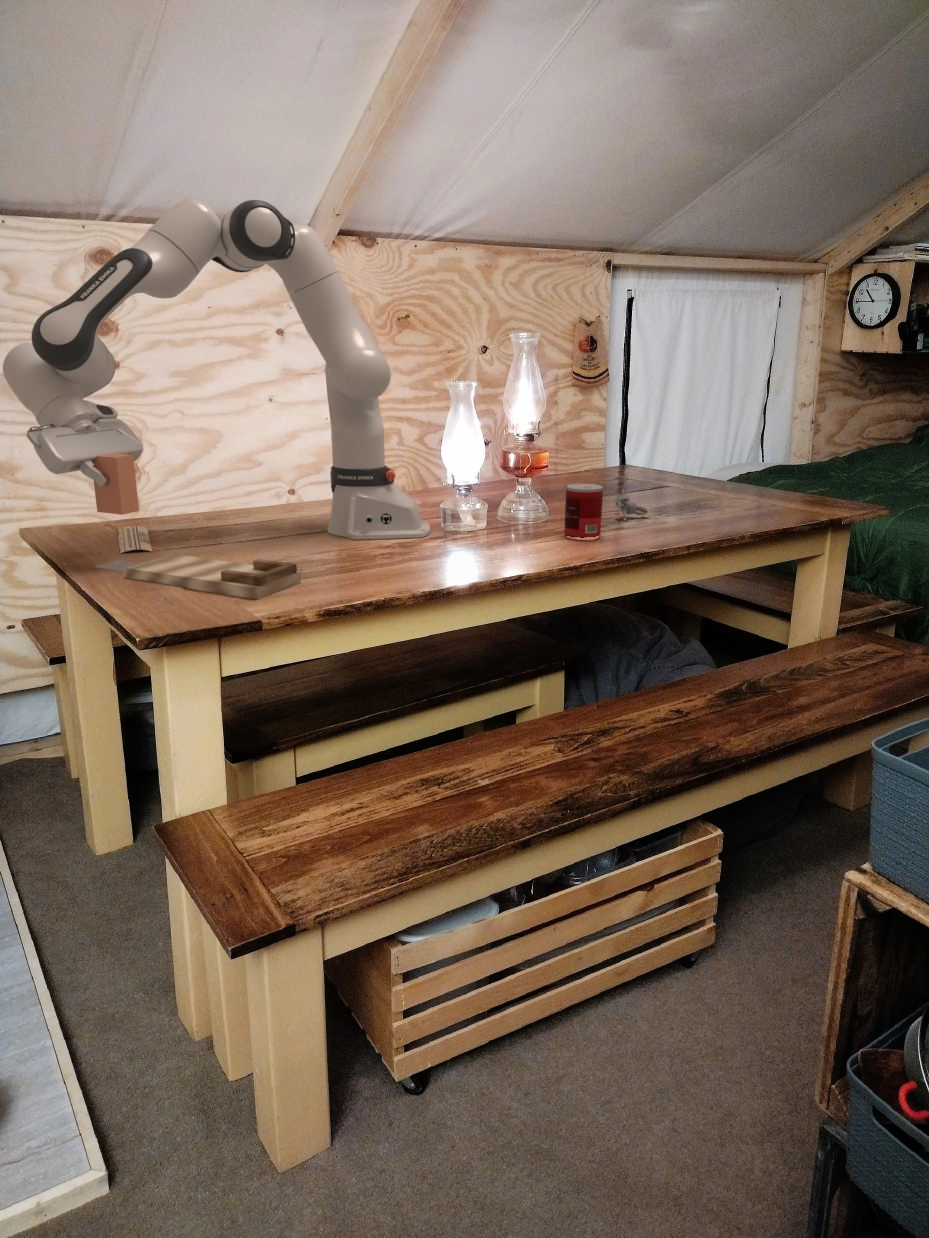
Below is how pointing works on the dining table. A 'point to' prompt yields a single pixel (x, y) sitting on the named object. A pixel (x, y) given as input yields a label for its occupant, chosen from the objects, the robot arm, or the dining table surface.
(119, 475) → the block
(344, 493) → the robot arm
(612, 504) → the dining table surface
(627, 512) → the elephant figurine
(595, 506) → the canned food
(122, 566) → the plate
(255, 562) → the rail deck
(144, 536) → the newspaper
